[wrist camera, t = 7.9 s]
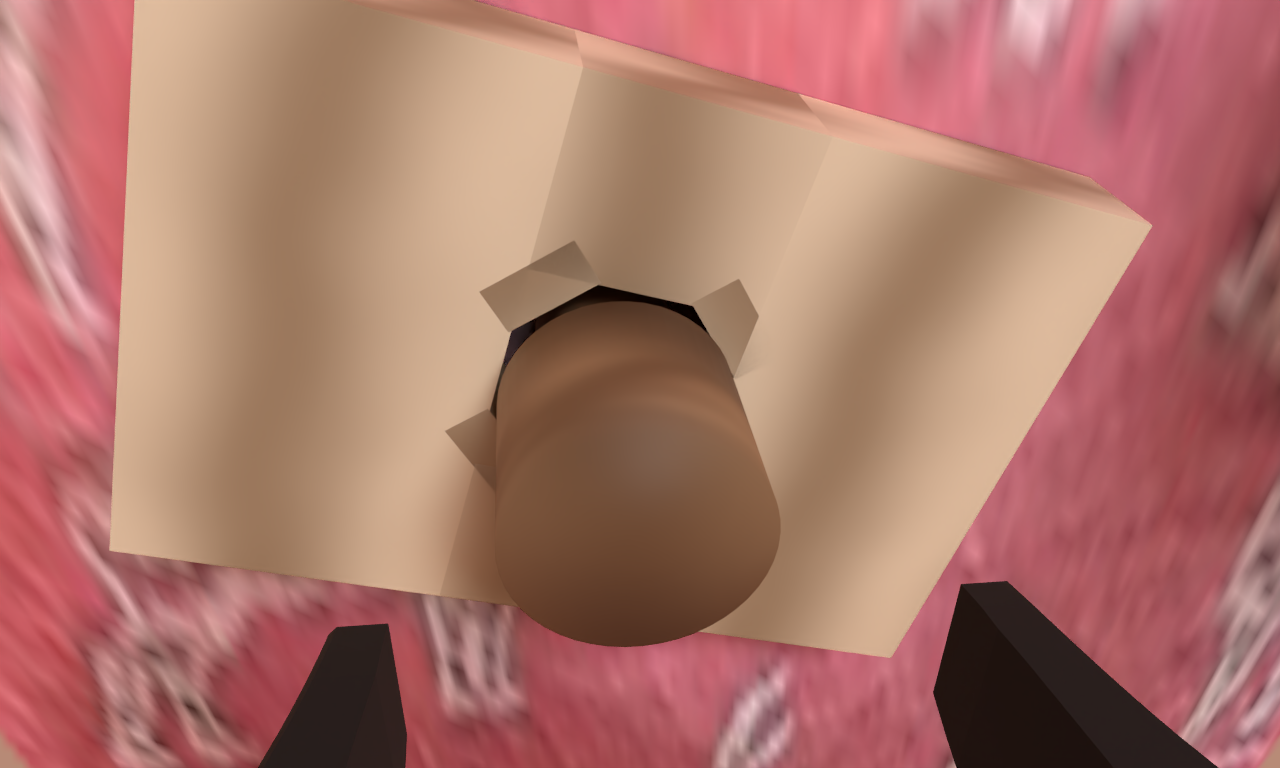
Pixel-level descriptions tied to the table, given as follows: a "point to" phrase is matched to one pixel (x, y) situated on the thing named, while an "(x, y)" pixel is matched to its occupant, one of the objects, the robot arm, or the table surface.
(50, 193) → the table surface
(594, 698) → the table surface
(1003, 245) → the hole board
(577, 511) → the walnut peg
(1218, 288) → the table surface
